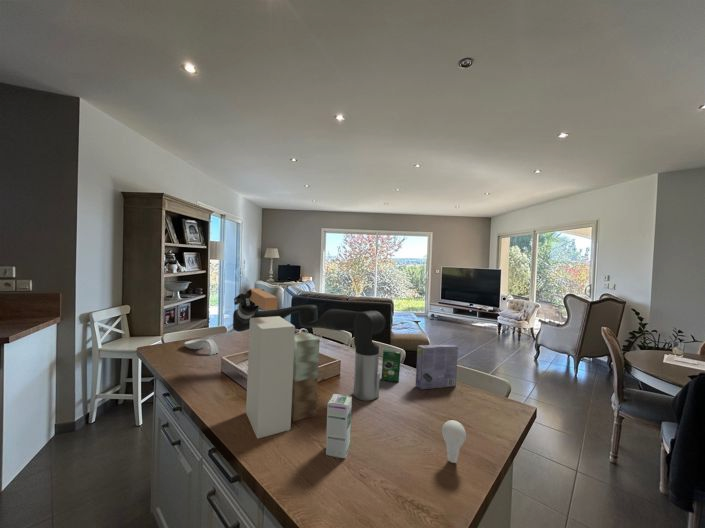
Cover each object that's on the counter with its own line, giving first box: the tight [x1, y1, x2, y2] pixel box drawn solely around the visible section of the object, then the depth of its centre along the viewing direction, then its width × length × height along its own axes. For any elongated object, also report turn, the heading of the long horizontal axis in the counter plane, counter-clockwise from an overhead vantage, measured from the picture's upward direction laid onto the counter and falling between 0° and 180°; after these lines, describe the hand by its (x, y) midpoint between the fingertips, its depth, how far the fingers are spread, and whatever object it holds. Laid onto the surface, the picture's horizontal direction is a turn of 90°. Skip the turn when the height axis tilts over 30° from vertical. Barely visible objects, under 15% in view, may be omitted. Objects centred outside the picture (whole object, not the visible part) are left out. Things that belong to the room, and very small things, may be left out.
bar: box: [247, 287, 279, 311], centre depth 105 cm, size 26×4×4 cm, turn 31°
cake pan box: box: [415, 344, 459, 390], centre depth 127 cm, size 19×5×18 cm, turn 108°
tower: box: [291, 333, 321, 422], centre depth 100 cm, size 8×8×26 cm
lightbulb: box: [441, 419, 467, 464], centre depth 79 cm, size 6×6×11 cm
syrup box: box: [325, 393, 353, 459], centre depth 81 cm, size 6×6×14 cm
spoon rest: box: [184, 337, 219, 356], centre depth 160 cm, size 24×12×7 cm, turn 58°
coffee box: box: [380, 349, 402, 383], centre depth 131 cm, size 8×3×13 cm, turn 79°
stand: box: [245, 316, 296, 439], centre depth 94 cm, size 10×16×32 cm, turn 31°
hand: (256, 291), depth 112 cm, fingers closed on bar, 4 cm apart
